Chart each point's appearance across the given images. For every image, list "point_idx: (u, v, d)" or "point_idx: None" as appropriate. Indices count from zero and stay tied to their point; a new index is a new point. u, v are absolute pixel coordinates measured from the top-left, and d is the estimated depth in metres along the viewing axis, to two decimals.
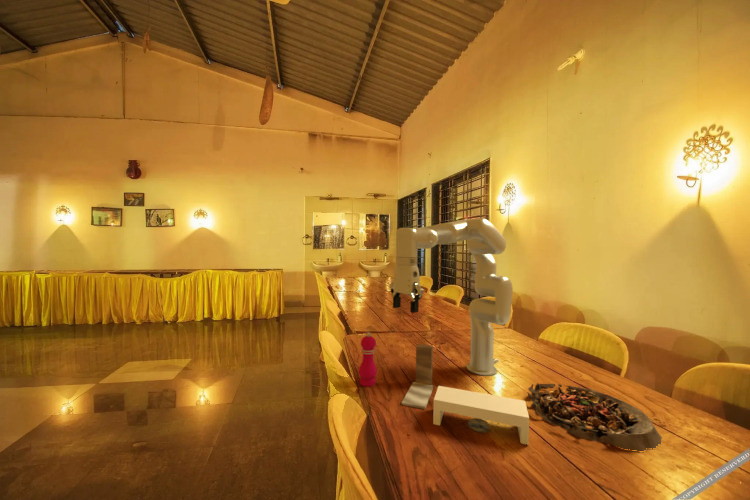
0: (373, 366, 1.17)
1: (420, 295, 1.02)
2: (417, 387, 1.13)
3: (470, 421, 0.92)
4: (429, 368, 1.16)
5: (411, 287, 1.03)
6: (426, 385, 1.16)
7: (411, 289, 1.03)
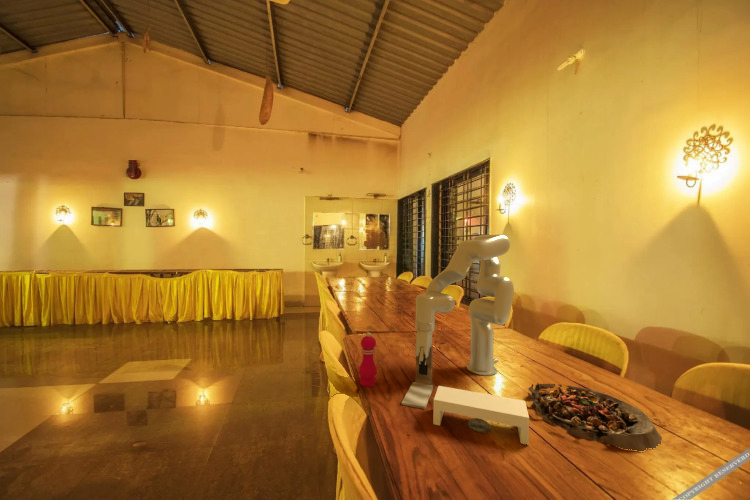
0: (373, 366, 1.17)
1: None
2: (417, 387, 1.13)
3: (470, 421, 0.92)
4: (429, 368, 1.16)
5: None
6: (426, 385, 1.16)
7: None
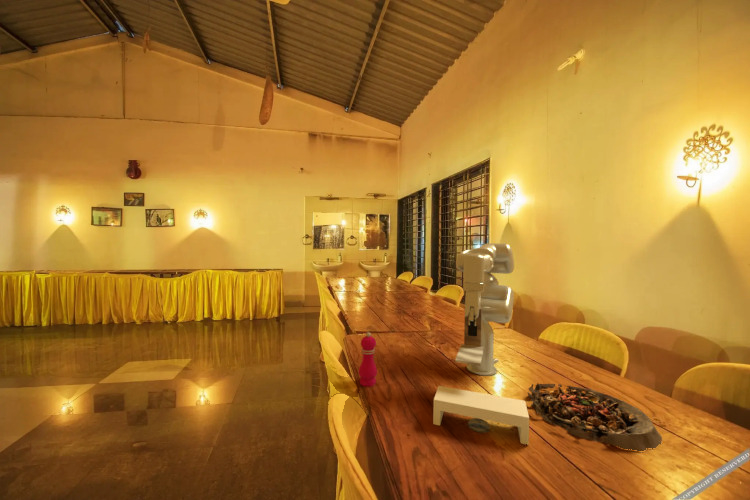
0: (373, 366, 1.17)
1: None
2: (467, 348, 1.11)
3: (470, 421, 0.92)
4: (479, 329, 1.13)
5: None
6: (476, 347, 1.13)
7: None
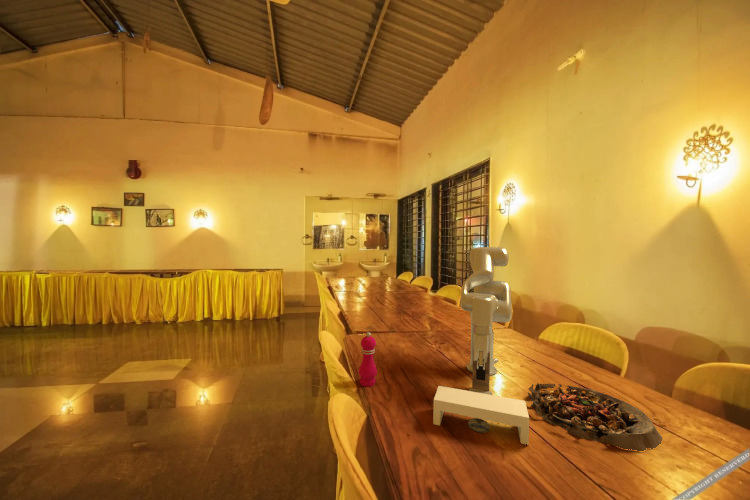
0: (373, 366, 1.17)
1: None
2: None
3: (470, 421, 0.92)
4: (487, 374, 1.12)
5: None
6: (484, 391, 1.11)
7: None
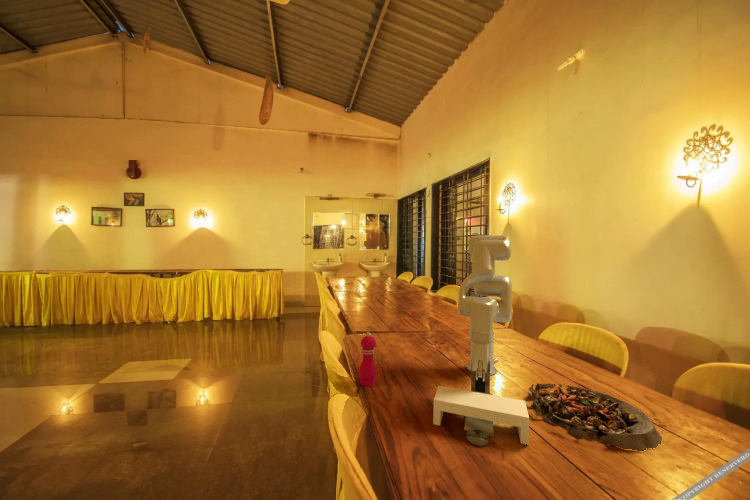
0: (373, 366, 1.17)
1: None
2: None
3: (468, 432, 0.85)
4: (487, 385, 1.02)
5: None
6: None
7: None
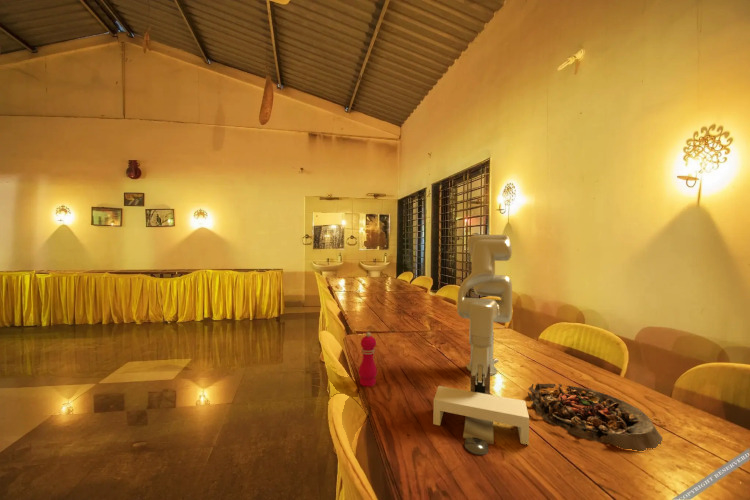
0: (373, 366, 1.17)
1: None
2: None
3: (467, 441, 0.82)
4: (487, 390, 0.99)
5: None
6: None
7: None
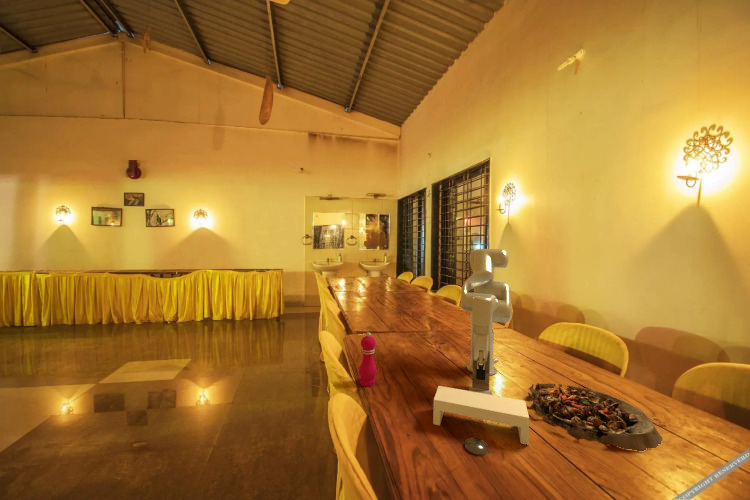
0: (373, 366, 1.17)
1: None
2: None
3: (467, 441, 0.82)
4: (487, 373, 1.13)
5: None
6: (484, 390, 1.12)
7: None
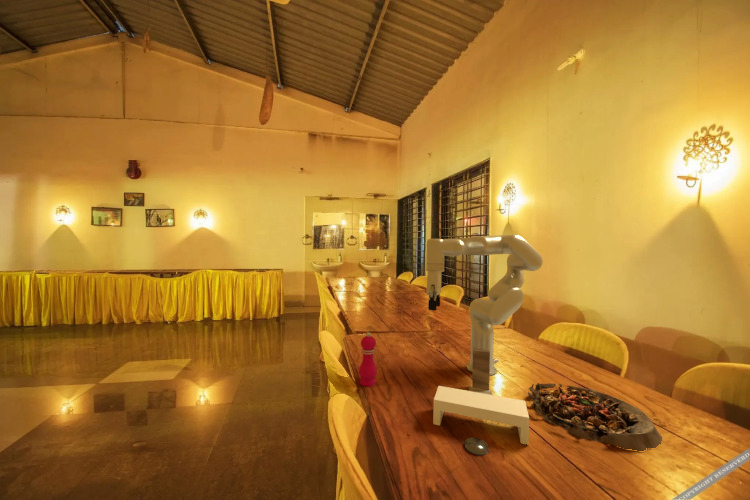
0: (373, 366, 1.17)
1: None
2: None
3: (467, 441, 0.82)
4: (487, 373, 1.13)
5: None
6: (484, 390, 1.12)
7: None
